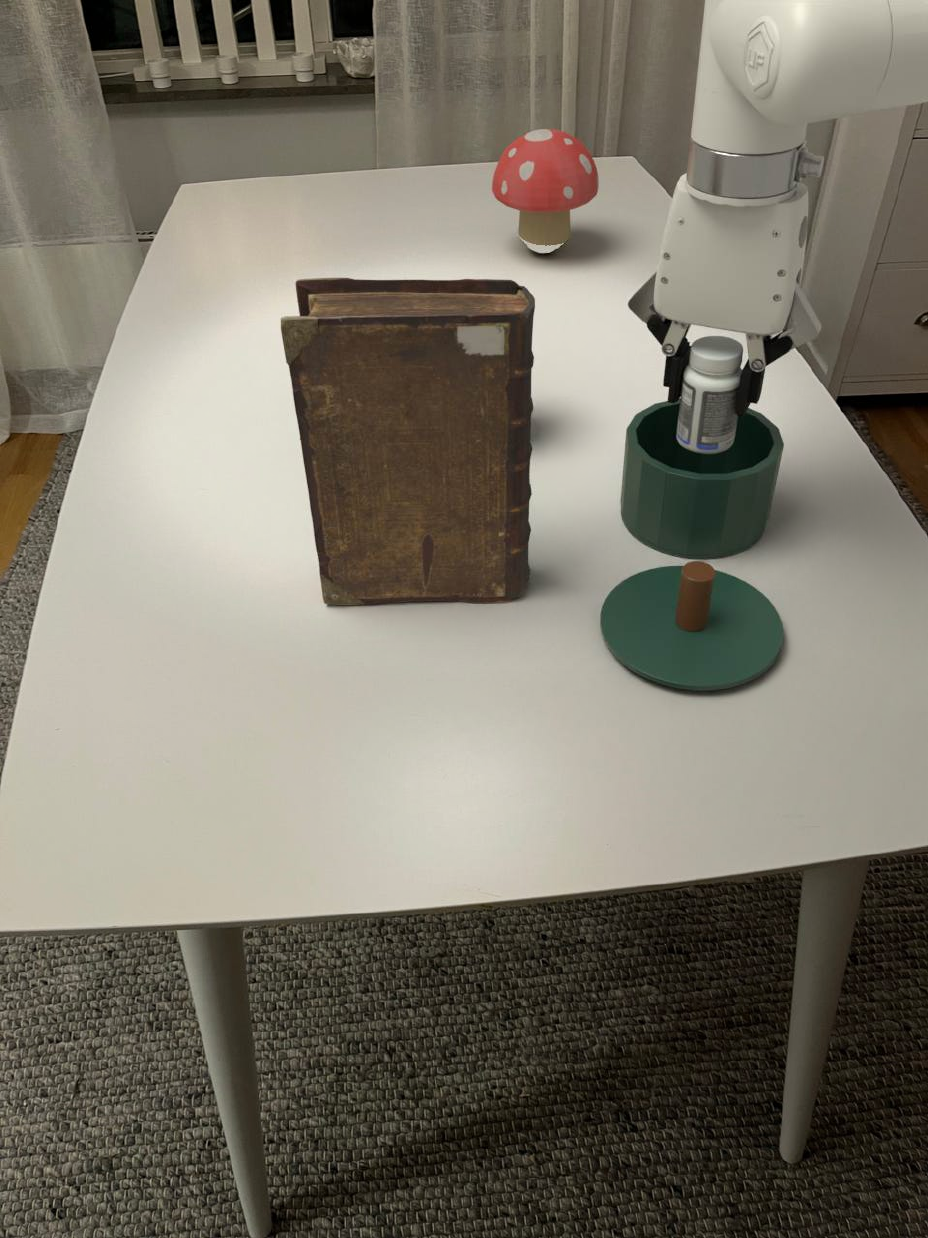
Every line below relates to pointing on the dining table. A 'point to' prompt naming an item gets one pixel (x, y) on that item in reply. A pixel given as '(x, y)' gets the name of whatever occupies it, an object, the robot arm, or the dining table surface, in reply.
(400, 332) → the book
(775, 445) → the tin
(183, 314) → the dining table surface
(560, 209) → the decorative mushroom
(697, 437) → the pill bottle
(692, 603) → the tin lid
